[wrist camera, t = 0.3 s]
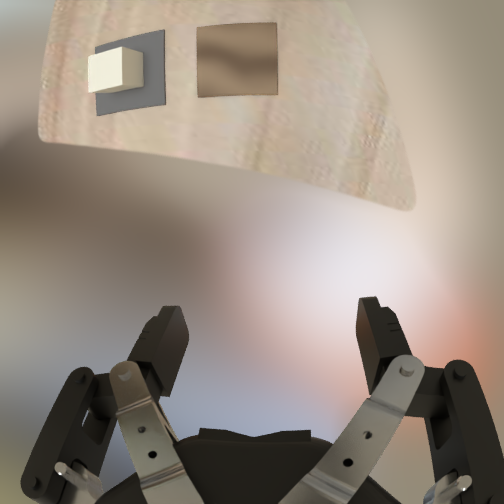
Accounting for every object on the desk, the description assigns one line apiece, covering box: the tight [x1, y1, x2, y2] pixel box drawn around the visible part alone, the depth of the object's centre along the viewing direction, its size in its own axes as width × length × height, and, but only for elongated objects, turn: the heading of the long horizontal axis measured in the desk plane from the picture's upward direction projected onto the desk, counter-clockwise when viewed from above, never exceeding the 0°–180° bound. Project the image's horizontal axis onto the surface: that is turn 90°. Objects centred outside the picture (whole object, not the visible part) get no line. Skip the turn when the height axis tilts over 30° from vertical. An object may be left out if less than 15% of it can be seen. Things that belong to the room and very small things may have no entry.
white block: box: [88, 47, 144, 93], centre depth 29 cm, size 5×5×6 cm
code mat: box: [95, 30, 166, 116], centre depth 32 cm, size 11×11×1 cm
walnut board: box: [197, 23, 277, 97], centre depth 31 cm, size 10×10×1 cm
